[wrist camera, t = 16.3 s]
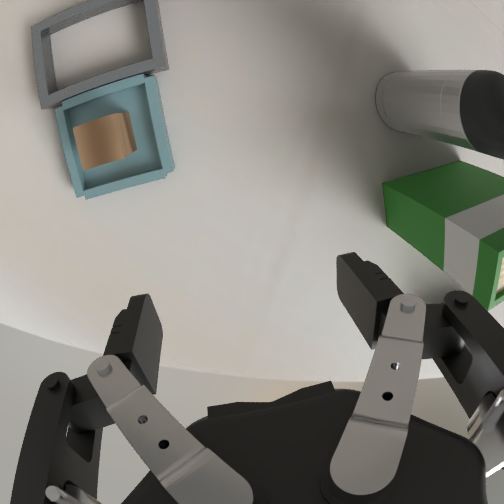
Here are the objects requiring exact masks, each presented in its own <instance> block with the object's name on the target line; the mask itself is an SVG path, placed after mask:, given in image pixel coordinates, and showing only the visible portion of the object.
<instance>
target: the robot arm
mask: <svg viewBox="0 0 504 504" xmlns="http://www.w3.org/2000/svg"><path fill="white" fill-rule="evenodd" d="M376 105H377V109H378V112H379V115H380V116H381V118H382V120H383V121H384V122H385V123H386V124H387V125H388V126H389V127H391V128H392V129H395V130H397V131H402V132H406V133H411V134H414V135H419V136H423V137H427V138H431V139H435V140H439V141H443V142H446V143H450V144H454V145H457V146H461V147H464V148H468V149H471V150H474V151H478V152H481V153H484V154H487V155H491V156H494V157H497V158H500V159H504V75H503V74H501V73H499V72H496V71H488V70H426V71H405V72H394V73H390V74H388V75H386V76H385V77H384V78H383V79H382V80H381V81H380V83H379V85H378V87H377V91H376ZM337 291H338V295H339V298H340V300H341V302H342V303H343V305H344V306H345V308H346V310H347V311H348V313H349V314H350V316H351V318H352V319H353V321H354V322H355V324H356V326H357V327H358V329H359V330H360V332H361V334H362V335H363V337H364V338H365V340H366V342H367V343H368V345H369V347H370V348H371V350H372V349H375V352H374V355H373V358H372V361H371V364H370V367H369V370H368V373H367V376H366V379H365V382H364V385H363V388H362V391H361V392H360V391H356V390H351V389H334V387H333V384H332V382H331V381H328V382H324V383H321V384H317V385H313V386H309V387H305V388H302V389H299V390H297V391H295V392H293V393H291V394H289V395H286V396H284V397H282V398H280V399H278V400H275V401H273V402H235V403H229V404H223V405H217V406H210V407H207V408H208V416H206V417H203V418H201V419H199V420H197V421H196V422H194V423H192V424H191V425H190V426H188V427H187V428H186V429H185V428H184V427H183V426H182V425H181V424H180V423H179V422H178V421H177V420H176V419H175V418H174V417H173V416H172V415H171V414H170V413H169V411H168V410H167V409H166V408H165V407H164V406H163V405H162V404H161V403H160V402H159V401H158V400H157V399H156V398H155V397H154V396H153V394H156V388H157V379H158V370H159V362H160V353H161V345H162V338H163V331H162V326H161V322H160V320H159V317H158V315H157V312H156V310H155V307H154V305H153V302H152V299H151V297H150V295H149V294H143V295H137V296H132V297H131V298H130V301H129V304H128V307H127V309H124V310H122V311H121V312H120V313H119V314H118V316H117V317H116V318H115V321H114V324H113V328H112V330H111V335H110V336H109V339H108V342H107V345H106V348H105V351H104V355H103V356H102V357H99V358H97V359H96V360H95V361H93V362H92V363H91V365H90V366H89V368H88V371H87V374H86V375H84V376H81V377H79V378H75V379H73V380H70V379H69V377H68V376H67V375H66V374H65V373H63V372H56V373H53V374H51V375H49V376H48V377H46V378H45V379H44V380H43V382H42V383H41V385H40V388H39V391H38V394H37V397H36V400H35V403H34V406H33V409H32V412H31V416H30V419H29V422H28V426H27V430H26V433H25V437H24V441H23V444H22V448H21V452H20V456H19V461H18V465H17V470H16V474H15V480H14V485H13V490H12V497H11V502H10V504H101V503H100V502H99V501H98V500H97V484H98V469H99V458H100V449H101V439H102V431H103V427H105V426H108V425H111V424H114V423H116V425H117V426H118V428H119V429H120V430H121V432H122V433H123V435H124V436H125V438H126V439H127V440H128V442H129V443H130V444H131V446H132V447H133V448H134V450H135V451H136V452H137V454H138V455H139V456H140V458H141V459H142V460H143V461H144V463H145V464H146V465H147V466H148V468H149V469H150V471H149V472H148V473H147V475H146V476H145V477H144V478H143V480H142V481H141V482H140V483H139V484H138V485H137V486H136V487H135V489H134V490H133V491H132V492H131V493H130V494H129V496H128V497H127V498H126V499H125V500H124V501H123V502H122V503H121V504H488V501H487V495H486V477H488V476H489V475H491V474H492V473H494V472H496V471H497V470H499V469H504V329H503V327H502V326H501V325H500V324H499V323H498V322H497V321H496V320H495V319H494V318H493V316H492V315H491V314H490V313H489V312H488V311H487V310H486V309H485V308H484V307H483V306H482V305H481V304H480V303H479V302H478V301H477V300H476V299H475V298H474V297H473V296H472V295H471V294H469V293H467V292H464V291H452V292H449V293H448V294H447V295H446V296H445V299H444V303H443V304H428V305H426V304H425V302H424V301H423V300H422V299H421V298H420V297H418V296H415V295H411V294H404V293H403V292H402V291H401V290H400V289H399V288H398V287H397V286H396V285H395V283H394V282H393V281H392V280H391V279H390V278H388V276H387V275H386V274H385V273H384V272H383V271H382V270H381V269H380V267H379V266H378V265H376V264H374V263H372V262H370V261H363V260H362V259H361V258H360V257H359V256H358V255H357V254H356V253H355V252H352V253H347V254H343V255H338V256H337ZM465 343H466V345H467V346H468V347H469V348H470V350H471V352H472V354H471V353H470V352H469V350H468V349H467V348H466V347H465V345H464V344H465ZM430 358H433V360H434V361H435V363H436V365H437V366H438V368H439V369H440V371H441V372H442V374H443V376H444V377H445V379H446V380H447V382H448V383H449V385H450V387H451V388H452V390H453V391H454V393H455V395H456V396H457V398H458V400H459V402H460V403H461V405H462V406H463V408H464V409H465V412H466V413H467V415H468V417H469V418H470V420H469V422H468V425H467V431H468V435H469V439H467V438H465V437H463V436H461V435H458V434H456V433H453V432H451V431H448V430H446V429H443V428H441V427H439V426H436V425H434V424H432V423H429V422H427V421H425V420H422V419H420V418H418V417H416V416H413V415H411V412H412V407H413V402H414V398H415V393H416V388H417V383H418V377H419V371H420V365H421V359H430ZM68 426H69V427H68ZM67 427H68V432H67ZM66 432H67V437H66Z"/></svg>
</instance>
